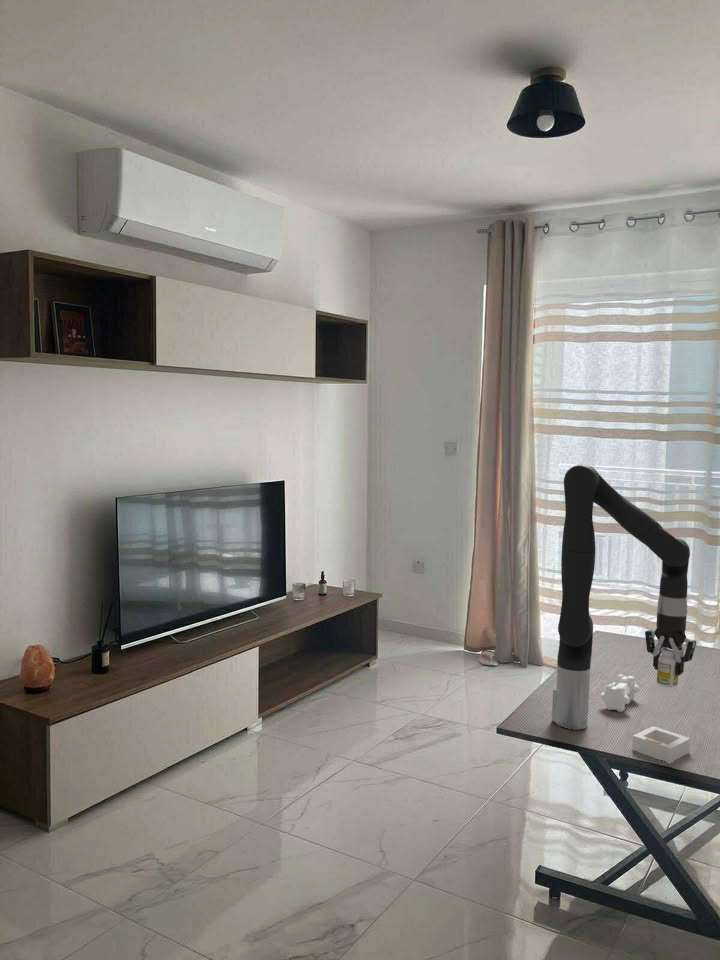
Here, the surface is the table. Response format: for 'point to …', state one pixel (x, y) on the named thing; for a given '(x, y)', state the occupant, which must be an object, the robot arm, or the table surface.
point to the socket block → (661, 744)
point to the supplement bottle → (667, 668)
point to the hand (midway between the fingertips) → (667, 671)
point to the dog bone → (620, 693)
